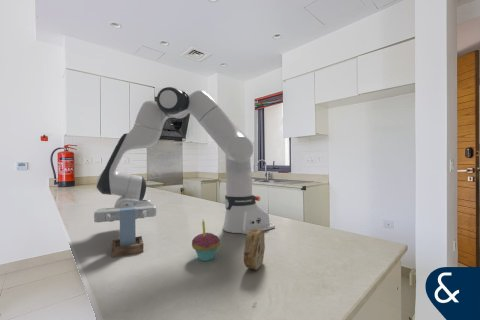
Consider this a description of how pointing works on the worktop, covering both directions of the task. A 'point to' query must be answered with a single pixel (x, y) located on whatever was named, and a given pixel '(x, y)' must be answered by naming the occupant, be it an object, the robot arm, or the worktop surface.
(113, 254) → the walnut base
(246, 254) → the bagel
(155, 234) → the worktop surface
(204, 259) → the cupcake
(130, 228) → the slate block
